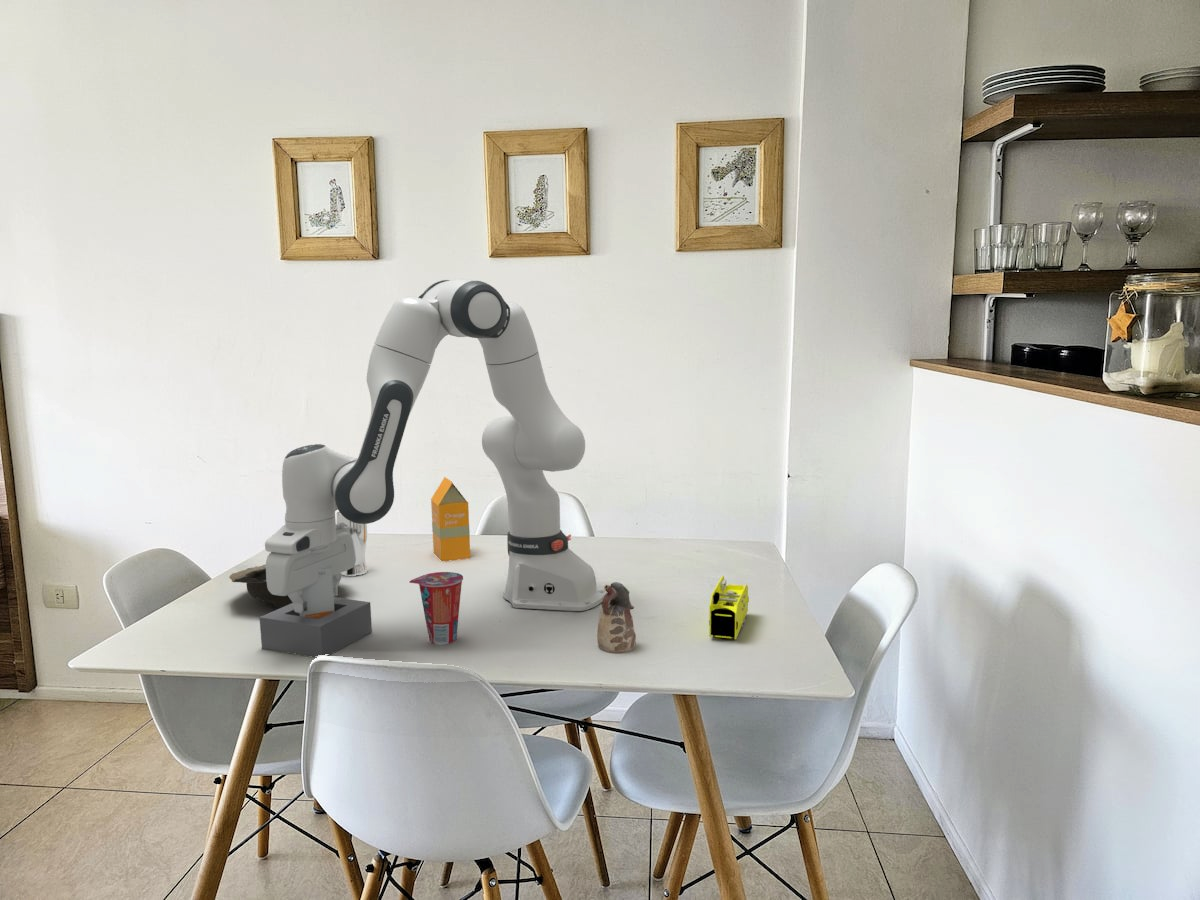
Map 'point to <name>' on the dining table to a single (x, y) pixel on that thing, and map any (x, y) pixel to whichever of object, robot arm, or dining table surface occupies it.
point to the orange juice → (450, 523)
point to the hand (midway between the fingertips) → (316, 604)
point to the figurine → (616, 621)
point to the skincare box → (319, 595)
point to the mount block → (316, 628)
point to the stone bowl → (259, 586)
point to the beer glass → (356, 545)
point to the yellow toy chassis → (727, 609)
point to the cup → (441, 605)
